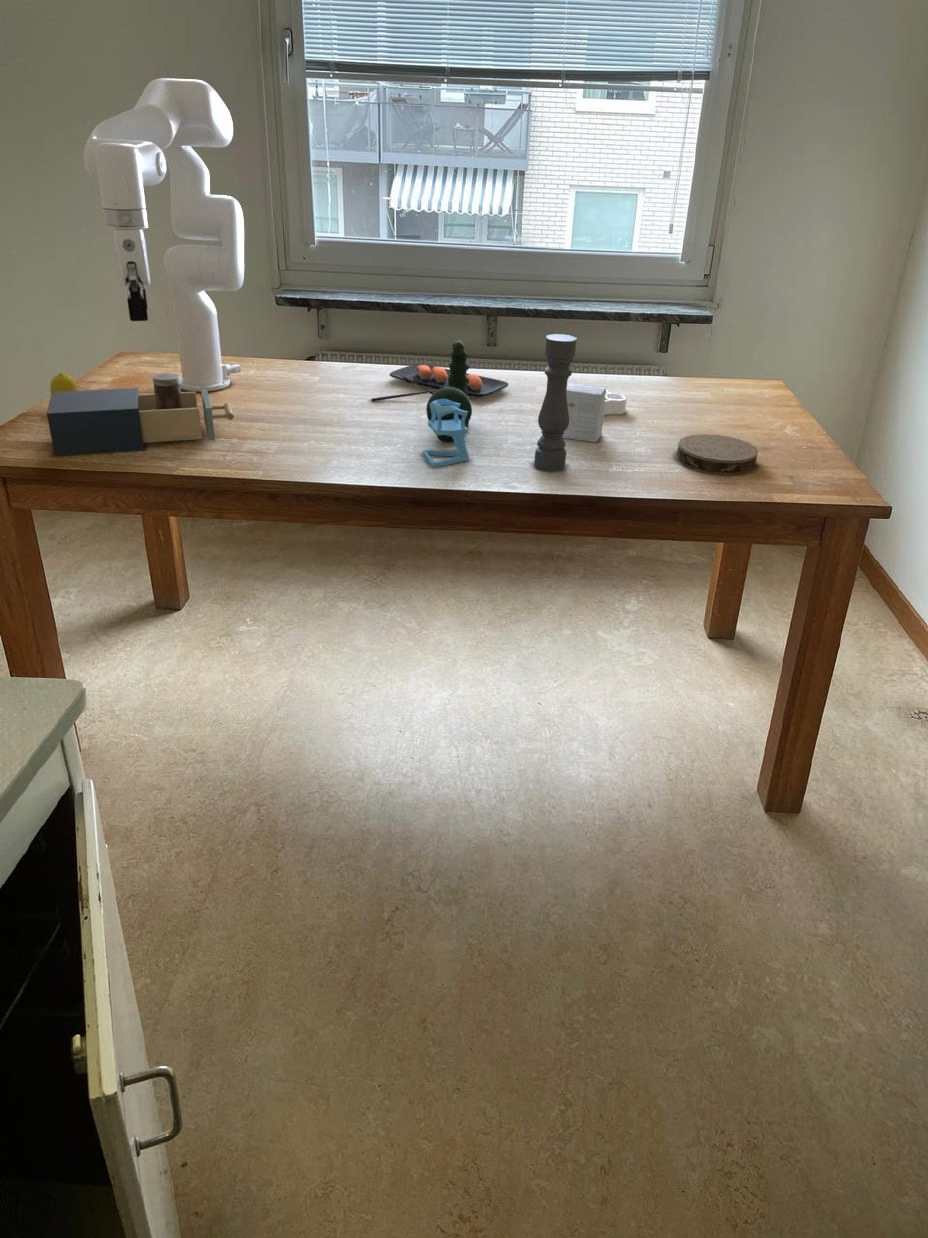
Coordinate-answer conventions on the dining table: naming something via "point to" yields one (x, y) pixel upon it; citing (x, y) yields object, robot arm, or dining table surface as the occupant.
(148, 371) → the dining table surface
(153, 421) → the drawer
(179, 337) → the robot arm
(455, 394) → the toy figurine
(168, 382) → the brown lidded jar
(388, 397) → the sushi plate
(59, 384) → the lemon
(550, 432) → the candle holder
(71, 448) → the cabinet
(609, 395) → the white brass knuckles
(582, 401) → the small box
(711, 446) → the tambourine
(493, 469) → the dining table surface
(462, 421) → the chair
